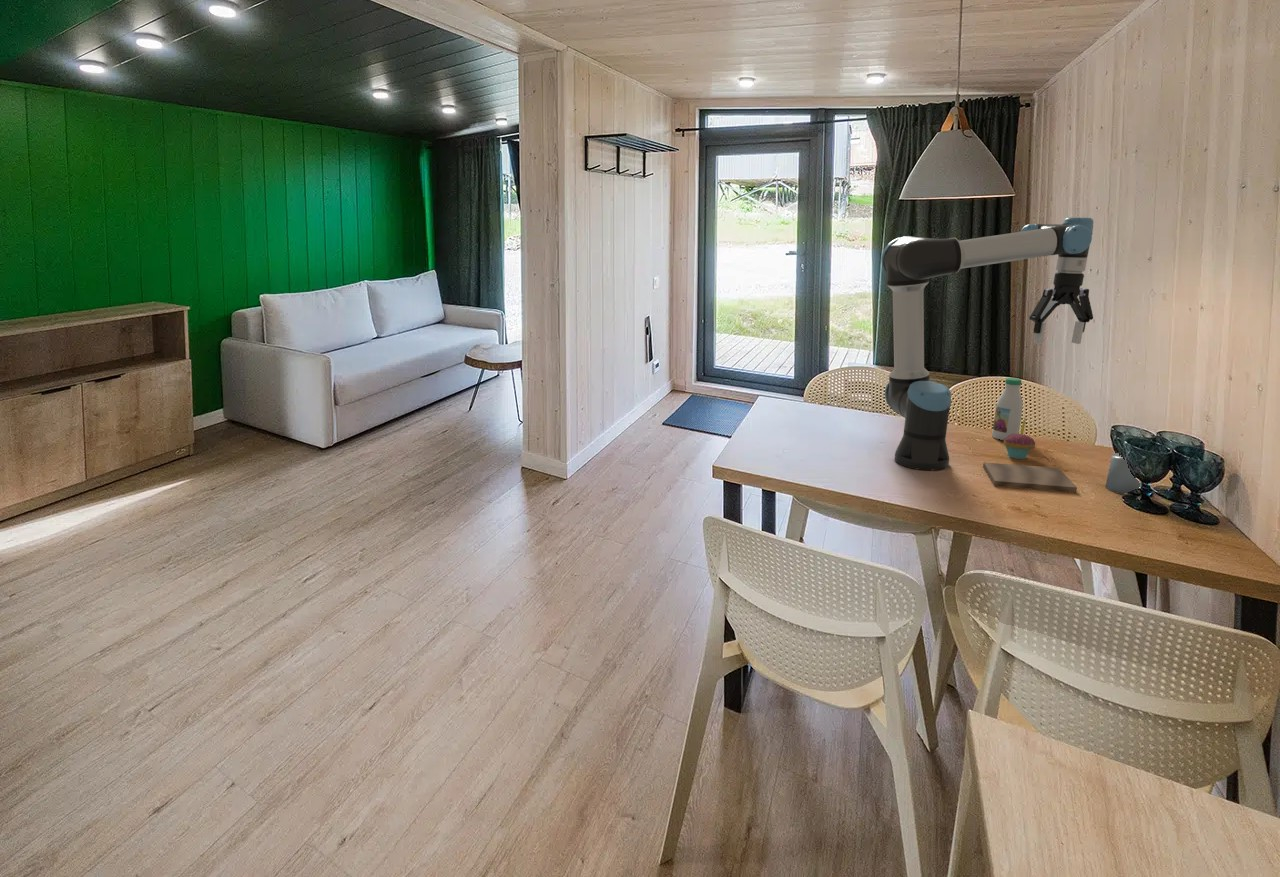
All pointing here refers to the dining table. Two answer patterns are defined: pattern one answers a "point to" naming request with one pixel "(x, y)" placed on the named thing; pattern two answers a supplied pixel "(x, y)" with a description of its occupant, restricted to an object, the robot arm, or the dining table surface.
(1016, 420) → the milk bottle
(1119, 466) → the grey rounded block
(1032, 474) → the walnut board
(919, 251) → the robot arm
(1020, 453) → the cupcake
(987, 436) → the dining table surface
